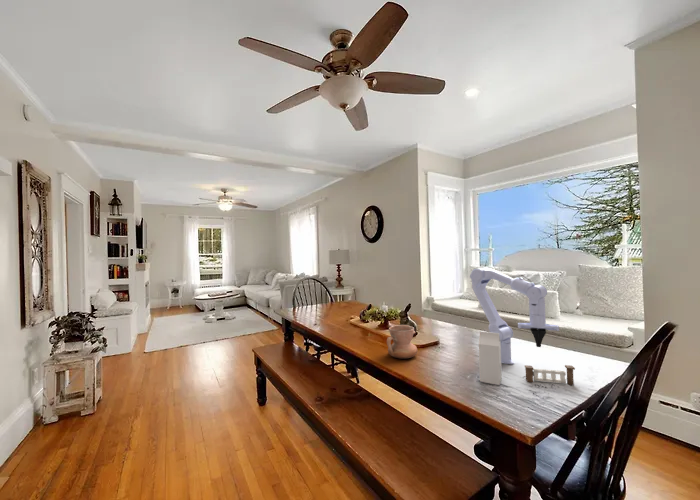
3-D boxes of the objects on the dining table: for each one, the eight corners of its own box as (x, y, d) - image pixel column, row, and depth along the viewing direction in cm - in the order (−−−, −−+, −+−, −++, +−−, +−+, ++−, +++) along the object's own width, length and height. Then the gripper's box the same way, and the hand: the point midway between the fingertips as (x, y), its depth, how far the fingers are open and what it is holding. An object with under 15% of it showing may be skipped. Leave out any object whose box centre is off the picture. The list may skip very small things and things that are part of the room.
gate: (565, 382, 114) (564, 371, 114) (566, 383, 113) (565, 372, 113) (533, 379, 118) (533, 368, 118) (534, 380, 116) (534, 369, 116)
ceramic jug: (405, 348, 160) (404, 322, 160) (425, 356, 147) (424, 327, 147) (378, 356, 150) (377, 328, 150) (397, 365, 138) (396, 334, 138)
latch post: (526, 382, 116) (526, 367, 116) (525, 379, 118) (524, 365, 118) (534, 382, 115) (533, 368, 115) (532, 379, 118) (531, 365, 118)
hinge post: (568, 385, 112) (567, 367, 113) (565, 382, 115) (564, 365, 115) (575, 385, 112) (574, 368, 112) (572, 382, 114) (572, 365, 114)
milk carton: (499, 385, 114) (498, 335, 114) (479, 381, 118) (478, 333, 118) (501, 378, 120) (500, 331, 120) (482, 375, 124) (481, 329, 124)
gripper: (556, 313, 126) (557, 345, 126) (516, 311, 133) (517, 341, 133) (559, 316, 120) (560, 350, 120) (518, 314, 126) (519, 346, 126)
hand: (538, 346), depth 126 cm, fingers closed
